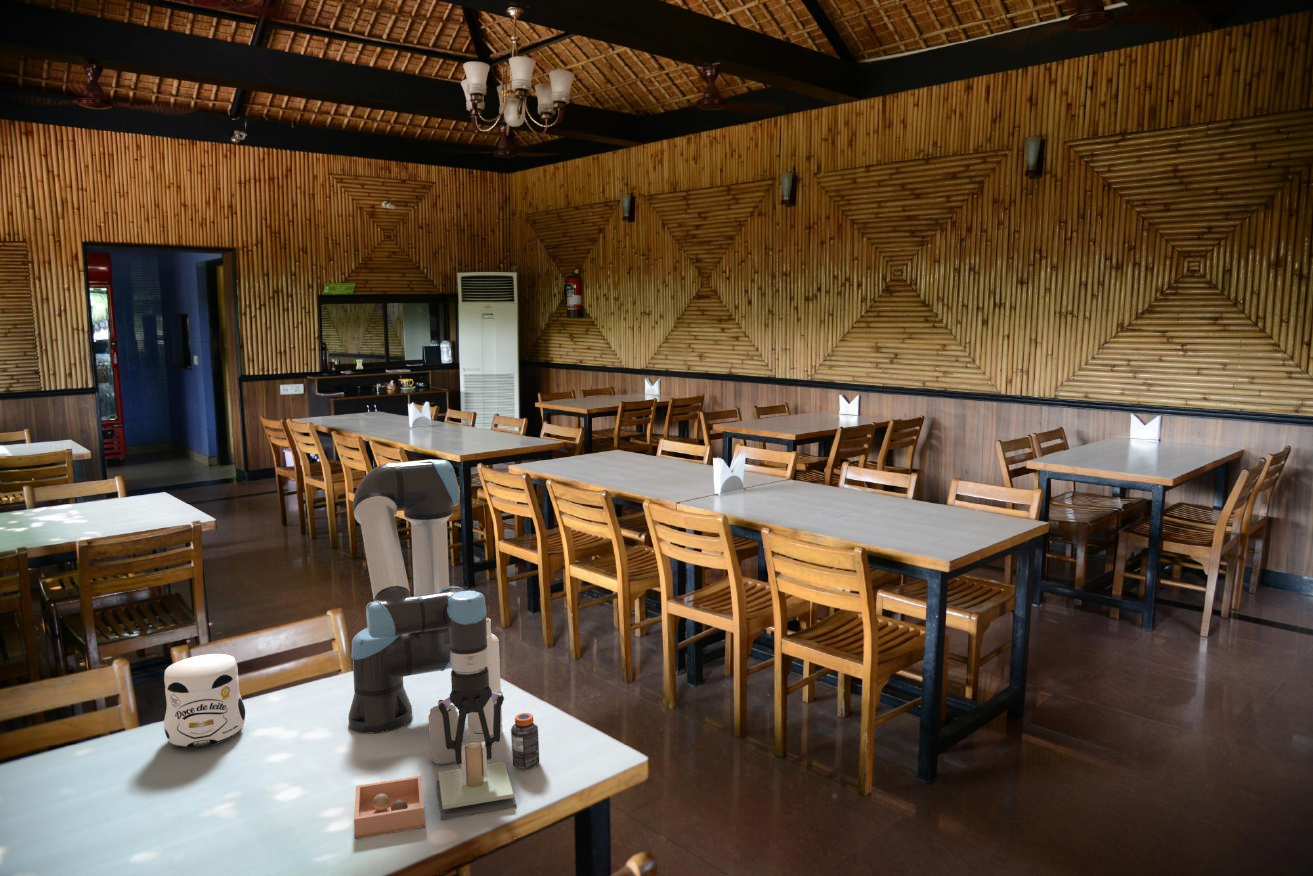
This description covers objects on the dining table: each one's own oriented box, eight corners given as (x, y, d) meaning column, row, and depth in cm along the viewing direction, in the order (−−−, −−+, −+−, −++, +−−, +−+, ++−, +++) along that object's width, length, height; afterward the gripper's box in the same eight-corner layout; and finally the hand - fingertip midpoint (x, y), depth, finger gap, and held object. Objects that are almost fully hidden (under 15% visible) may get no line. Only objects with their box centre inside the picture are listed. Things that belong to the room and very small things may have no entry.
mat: (436, 783, 189) (436, 780, 189) (506, 771, 193) (506, 769, 193) (440, 820, 175) (440, 817, 175) (516, 807, 179) (516, 804, 179)
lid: (438, 775, 189) (436, 736, 187) (504, 765, 193) (503, 726, 191) (442, 809, 175) (440, 767, 174) (513, 797, 179) (511, 756, 178)
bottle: (508, 735, 211) (503, 622, 207) (476, 744, 206) (471, 629, 203) (494, 723, 217) (489, 613, 214) (462, 732, 213) (457, 619, 209)
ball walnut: (391, 812, 177) (390, 797, 176) (407, 810, 178) (407, 795, 177) (391, 821, 174) (390, 806, 173) (408, 818, 175) (407, 803, 174)
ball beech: (373, 806, 179) (372, 792, 179) (389, 804, 180) (388, 789, 180) (373, 815, 176) (372, 800, 176) (389, 812, 177) (388, 797, 177)
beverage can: (452, 767, 196) (450, 716, 194) (425, 765, 197) (423, 714, 195) (464, 754, 202) (462, 704, 200) (438, 751, 203) (435, 702, 202)
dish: (357, 804, 181) (356, 786, 181) (422, 793, 185) (421, 775, 184) (355, 839, 169) (353, 819, 168) (425, 827, 173) (424, 807, 172)
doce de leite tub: (192, 761, 201) (186, 685, 198) (150, 743, 210) (144, 670, 207) (261, 731, 215) (256, 660, 213) (219, 715, 224) (213, 647, 222)
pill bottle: (538, 756, 200) (536, 708, 199) (540, 769, 194) (538, 720, 193) (511, 759, 199) (509, 711, 197) (513, 772, 193) (511, 723, 192)
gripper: (428, 680, 175) (434, 791, 178) (513, 669, 179) (517, 778, 182) (426, 666, 182) (432, 773, 185) (508, 656, 187) (512, 761, 190)
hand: (474, 775), depth 184 cm, fingers closed on lid, 4 cm apart
